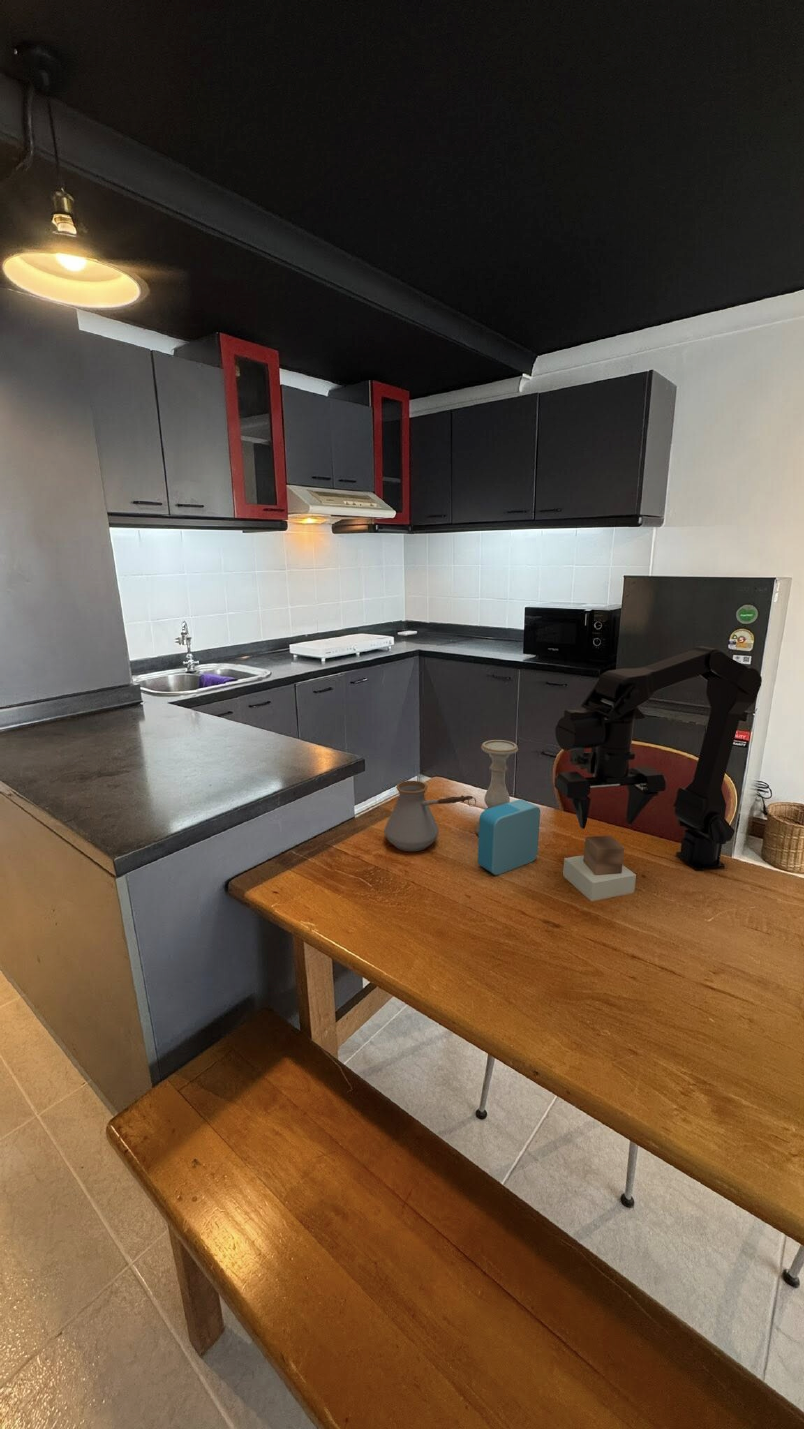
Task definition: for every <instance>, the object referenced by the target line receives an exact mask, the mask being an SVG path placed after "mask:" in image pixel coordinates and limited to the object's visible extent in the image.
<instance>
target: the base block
mask: <svg viewBox="0 0 804 1429" xmlns="http://www.w3.org/2000/svg"><path fill="white" fill-rule="evenodd" d="M583 859H584V854H581V855H577V856H571V857H570V856H569V857H565V858H564V859H563V868H562V869H563V871H562V872H563V873H562V876H563V877H564V878H565V879H566V880H567V881H568V882H569V883H571V884H572V885H573V887H575V888H576V889H577V890H578V891H579V892H580V893H582V894H583V895H584V896H585V897H586V898H587V899H588V900H589V901H590V902H594V901H596V902H597V901H599V900H600V901H601V900H605V899H610V898H615V897H620V896H625V895H629V894H635V888H636V879H637V874H636V873H634V872H633V871H631V870H630V869H629V868H627V867H626V866H625V865H624V864H623V865H622V873H620V874H606V875H595V874H594V873H593V872H592V871H591V870H590V869H589V867H588V866H587V865H586V864H585V863H584V862H583Z"/></svg>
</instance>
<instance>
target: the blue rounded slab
mask: <svg viewBox="0 0 804 1429" xmlns="http://www.w3.org/2000/svg"><path fill="white" fill-rule="evenodd" d="M540 820H541V809H540V807H539V806H537V805H535V804H534V803H532V802H529V801H527V800H524V799H521V798H519V799H516V800H513V801H510V802H509V803H506V804H502V805H499V806H496V807H492V808H489V809H486V808H485V809H484V810H483V811H482V812H481V813H480V815H479V822H478V823H479V836H478V844H477V846H478V848H477V863H478V865H479V866H480V867H482V868H484V869H485V870H487V871H488V872H490V873H491V874H493V875H494V876H499V875H502V874H504V873H506V872H509V871H512V870H515V869H517V868H520V867H522V866H524V865H527V864H530V863H533V862H534V861H535V860H536V858H537V857H538V851H539V838H540V837H539V836H540Z"/></svg>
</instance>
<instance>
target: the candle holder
mask: <svg viewBox="0 0 804 1429" xmlns="http://www.w3.org/2000/svg"><path fill="white" fill-rule="evenodd" d="M480 748H481V750H482V751H483V753H484V752H485V753H486V754H488V755H489V757H490V759H491V761H492V763H491V765H490V766H489V770H490V771H491V778H490V779H491V780H490V784H489V787H488V788H487V790H486V792H485V794H484V799H483V800H484V804H485V805H486V807H487V808H485V810H486V809H489V808H492V807H496V806H499V805H502V804H506V803H509V802H511V798H510V797H511V796H510V794H509V791H508V788H507V786H506V778H505V776H506V775H505V774H506V772H507V771H508V766H507V765H506V762H507V759H508V758H509V757H510V755H514V754H516V753H517V752H518V750H519V747H518V745H517V744H516V743H515V742H513V741H510V740H505V739H504V740H503V739H491V740H490V739H489V740H487V741H484V742H483V743H482V744H481V747H480ZM474 829H475V830H474V831H475V834H476V835H477V836H478V837H479V822H478V823H477V824H476V825H475V828H474Z"/></svg>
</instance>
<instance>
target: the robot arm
mask: <svg viewBox="0 0 804 1429" xmlns="http://www.w3.org/2000/svg"><path fill="white" fill-rule="evenodd" d="M699 676H700V677H701V678H703V679H704V680H705V681H707V683H706V691H705V693H706V697H707V700H708V704H709V707H710V712H709V715H708V716H709V717H708V718H707V723H706V727H705V732H704V734H703V736H704V737H703V739H702V743H701V746H700V747H701V748H700V751H699V754H698V759H697V762H696V767H695V771H694V775H693V778H692V781H691V782H690V783H689V784H688V785H686V786H685V787H684V788H683V787H678V790H677V791H676V798H675V801H674V802H673V805H672V807H674V815H675V816H676V817H677V823H678V826H680V827H681V828H684V829H685V830H684V837H683V838H682V839H681V846H680V851H676V852H675V855H676V857H678V858H680V859H681V860H682V861H684V862H685V863H686V864H687V865H688V866H690V867H691V868H692V869H694V870H696V871H702V870H713V869H722V868H723V869H724V868H725V867H726V864H725V863H723V861H721V854H722V846H723V845H726V843H727V842H731V840H732V839H733V837H734V834H735V829H734V828H733V827H732V825H730V823H729V822H728V821H727V820H726V818H725V817H726V811H727V810H726V809H727V803H726V799H725V797H724V793H723V790H722V786H723V782H724V779H725V776H726V772H727V768H728V764H729V760H730V756H731V753H732V750H733V746H734V742H735V738H736V734H737V730H738V727H739V723H740V720H741V716H742V715H743V714H744V713H745V712H746V711H747V710H748V709H749V708H750V707H751V706H753V704H754V703H755V701H756V699H757V697H758V694H759V691H760V689H761V687H762V682H763V679H762V678H763V677H762V676H761V675H760V672H759V671H758V670H757V669H756V668H754V667H750V666H747V665H744V663H741V662H739V661H737V660H735V659H734V658H731V657H730V656H728V655H727V654H725V653H724V652H723V651H721V650H720V649H719V648H713V647H708V646H701V645H699V646H696V647H695V646H694V647H693V648H692V649H691V650H689V651H685V652H683V653H682V652H681V653H680V654H677V655H674V656H671V657H669V658H665V659H662V660H660V661H657V662H654V663H652V664H649V665H645V666H642V667H636V668H635V667H634V668H633V667H632V668H631V667H630V668H619V669H618V668H617V669H612V670H611V669H609V670H606V671H604V672H603V673H601V674H600V675H599V677H598V680H597V681H596V684H595V685H594V687H593V688H592V689H591V691H590V692H589V694H588V695H587V697H585V699H584V701H583V702H582V704H581V705H580V708H581V709H565V710H564V712H563V716H562V717H561V718H559V720H558V721H557V724H556V726H555V729H554V731H555V732H554V735H555V738H556V739H555V740H556V742H557V744H558V746H559V747H560V749H561V750H563V751H566V752H568V751H570V754H569V763H570V764H571V766H578V767H579V770H586V772H587V773H588V774H590V775H593V776H589V777H584V776H583V775H582V774H581V773H579V772H578V771H566V772H558V773H557V774H556V776H555V778H554V785H553V786H554V788H555V789H557V791H559V792H560V793H561V794H562V795H564V797H565V798H567V799H570V801H571V803H572V805H573V807H574V811H575V814H576V818H577V820H578V825H579V827H580V828H581V829H582V830H585V829H586V826H587V822H588V816H589V812H590V807H591V806H590V805H591V800H592V799H591V798H590V797H589V795H590V793H591V789H599V788H610V787H624V786H625V787H626V786H627V791H628V799H627V806H626V814H625V816H626V817H625V818H626V820H625V821H626V823H627V824H628V825H632V824H633V822H634V821H635V820H636V819H637V817H638V816H639V815H640V813H641V812H642V811H643V809H644V808H645V807H646V806H647V805H648V804H649V802H650V801H651V800H652V799H653V798H654V797H656V796H659V792H665V791H666V787H667V779H666V776H665V775H664V774H663V773H661V772H659V771H658V770H655V769H654V768H653V767H651V766H649V765H646V766H645V765H644V766H634V767H633V766H632V767H631V768H630V760H631V761H632V760H633V761H634V760H635V758H636V757H635V756H636V754H635V753H634V752H632V742H633V733H634V732H633V731H634V723H635V720H644V719H645V718H646V715H645V714H644V713H643V711H641V709H639V707H640V706H641V705H643V704H644V703H647V702H648V701H649V700H650V699H651V698H652V696H653V694H654V693H655V694H656V693H657V692H658V691H661V690H663V689H666V688H668V687H671V686H674V685H677V684H679V683H682V682H685V681H688V680H691V679H694V678H696V677H699ZM601 702H603V703H604V704H602V703H601ZM605 704H607V705H605ZM608 705H609V706H608ZM611 706H612V707H611ZM585 749H591V750H590V751H589V752H588V751H587V752H586V751H585ZM719 856H720V857H719Z"/></svg>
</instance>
